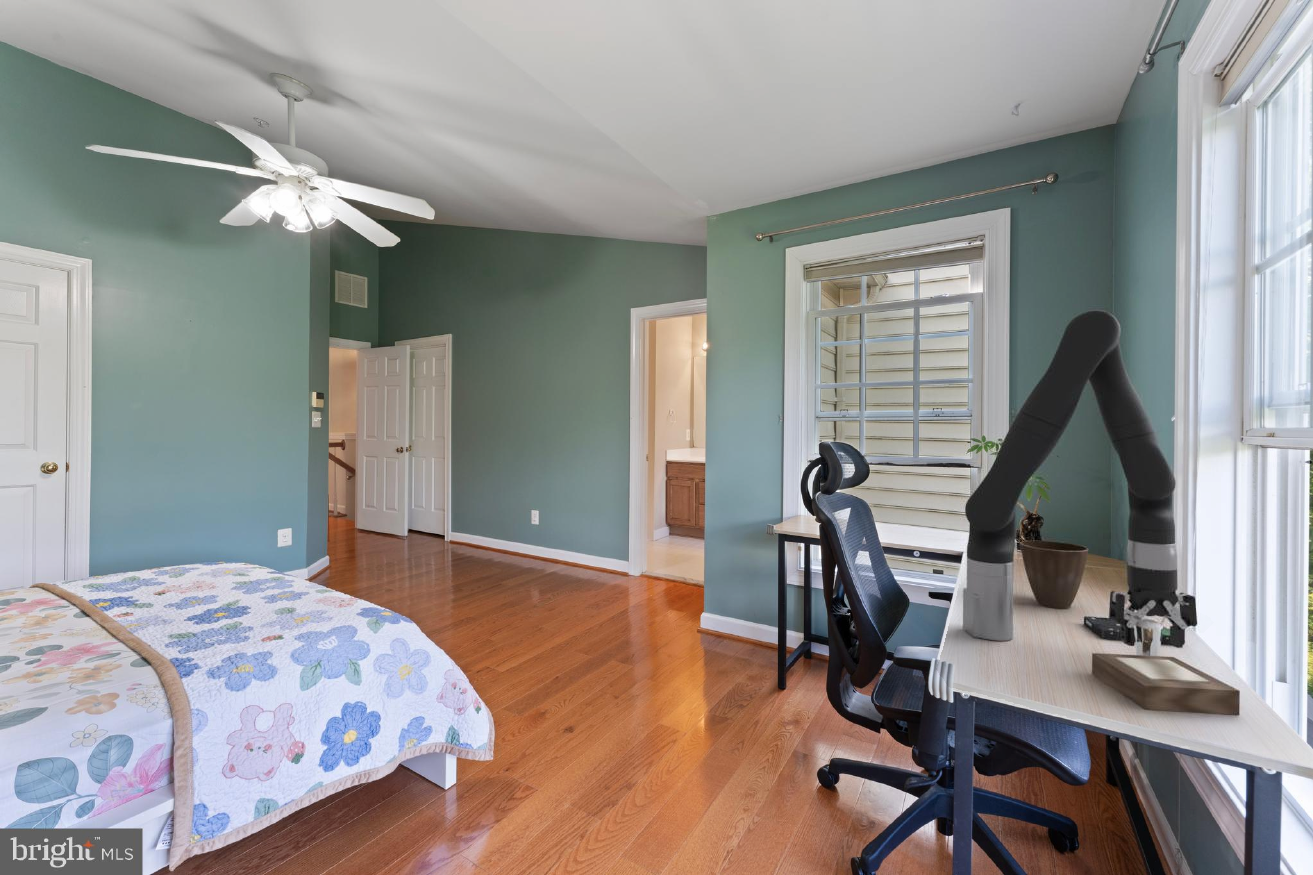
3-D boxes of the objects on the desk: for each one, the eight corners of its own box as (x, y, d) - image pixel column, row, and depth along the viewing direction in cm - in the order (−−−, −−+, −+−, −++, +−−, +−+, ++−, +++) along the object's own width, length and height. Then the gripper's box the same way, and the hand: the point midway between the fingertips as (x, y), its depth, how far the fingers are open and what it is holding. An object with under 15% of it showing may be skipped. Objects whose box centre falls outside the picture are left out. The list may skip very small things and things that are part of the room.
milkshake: (1173, 670, 109) (1173, 619, 109) (1141, 668, 110) (1142, 617, 110) (1157, 661, 114) (1158, 612, 114) (1127, 659, 115) (1127, 610, 115)
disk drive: (1103, 642, 126) (1184, 648, 122) (1103, 630, 126) (1184, 635, 122) (1082, 627, 136) (1157, 632, 132) (1082, 615, 136) (1156, 620, 132)
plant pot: (1006, 599, 156) (1007, 541, 156) (1046, 594, 161) (1047, 538, 160) (1059, 615, 142) (1060, 552, 142) (1102, 610, 146) (1102, 549, 146)
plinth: (1145, 709, 94) (1145, 683, 94) (1092, 673, 108) (1092, 651, 108) (1239, 714, 92) (1239, 688, 92) (1173, 677, 106) (1173, 655, 106)
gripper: (1125, 567, 109) (1126, 651, 109) (1207, 569, 107) (1208, 654, 107) (1100, 559, 116) (1101, 637, 116) (1176, 560, 115) (1177, 640, 115)
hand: (1152, 645), depth 112 cm, fingers open, 8 cm apart
